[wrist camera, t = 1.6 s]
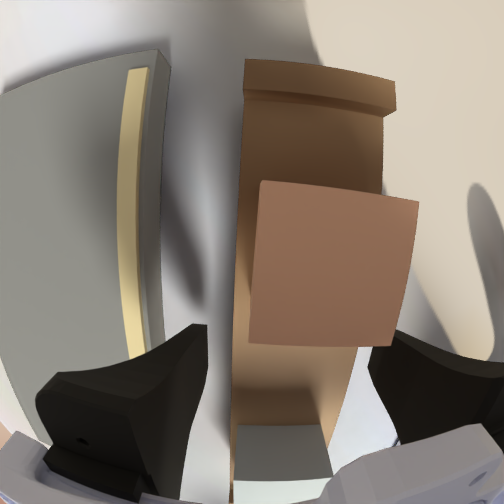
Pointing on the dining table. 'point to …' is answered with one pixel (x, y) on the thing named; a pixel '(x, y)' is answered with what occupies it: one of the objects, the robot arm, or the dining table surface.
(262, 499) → the block
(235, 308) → the brown block carrier
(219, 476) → the dining table surface
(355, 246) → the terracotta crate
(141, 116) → the plate
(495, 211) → the dining table surface
